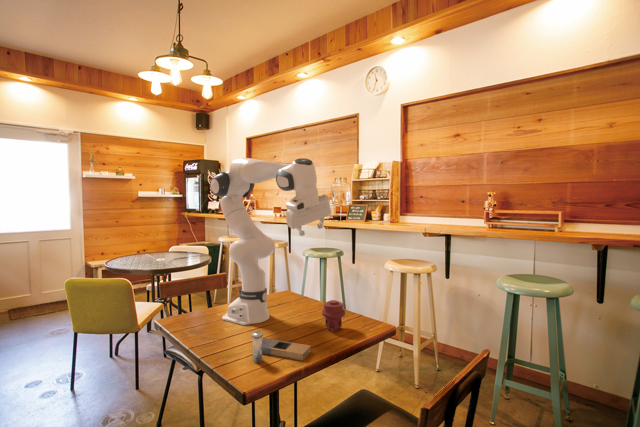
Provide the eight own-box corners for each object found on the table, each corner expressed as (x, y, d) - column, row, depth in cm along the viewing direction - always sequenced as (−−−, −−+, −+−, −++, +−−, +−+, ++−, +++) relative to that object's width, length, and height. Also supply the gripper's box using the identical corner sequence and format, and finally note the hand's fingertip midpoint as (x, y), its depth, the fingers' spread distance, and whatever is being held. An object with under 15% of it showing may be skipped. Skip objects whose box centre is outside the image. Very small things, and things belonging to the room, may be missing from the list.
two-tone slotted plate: (253, 352, 124) (253, 345, 124) (264, 344, 131) (263, 338, 131) (302, 360, 117) (302, 354, 117) (310, 351, 124) (310, 345, 124)
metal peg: (249, 362, 116) (249, 334, 116) (255, 357, 120) (255, 330, 119) (259, 364, 115) (259, 336, 114) (265, 359, 118) (265, 332, 118)
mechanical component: (346, 325, 149) (343, 334, 139) (324, 324, 151) (320, 333, 141) (346, 298, 148) (343, 305, 139) (324, 297, 150) (319, 304, 141)
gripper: (323, 192, 141) (326, 222, 145) (282, 205, 129) (286, 237, 134) (332, 194, 136) (335, 225, 141) (291, 208, 125) (295, 241, 129)
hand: (311, 231), depth 137 cm, fingers open, 8 cm apart
